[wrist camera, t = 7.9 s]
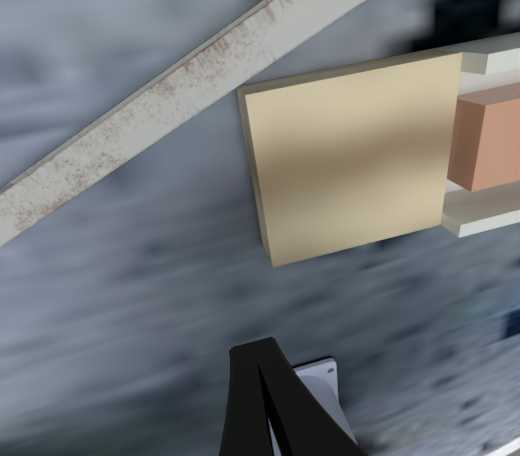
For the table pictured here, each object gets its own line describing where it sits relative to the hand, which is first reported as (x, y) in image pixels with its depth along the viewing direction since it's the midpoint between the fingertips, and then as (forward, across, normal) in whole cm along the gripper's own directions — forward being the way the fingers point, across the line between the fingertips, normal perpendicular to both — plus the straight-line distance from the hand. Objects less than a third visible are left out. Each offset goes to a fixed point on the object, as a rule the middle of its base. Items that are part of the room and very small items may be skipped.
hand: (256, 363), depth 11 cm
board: (+10, -7, -2) cm, 13 cm away
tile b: (+10, -16, -2) cm, 18 cm away
